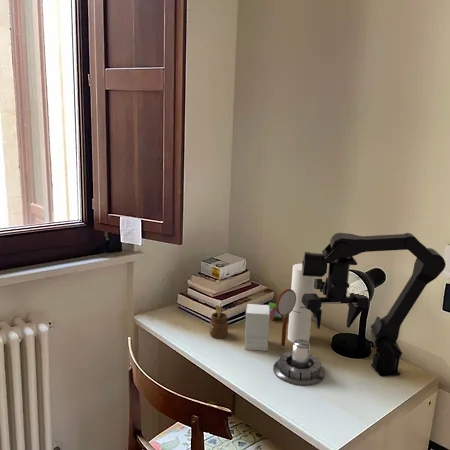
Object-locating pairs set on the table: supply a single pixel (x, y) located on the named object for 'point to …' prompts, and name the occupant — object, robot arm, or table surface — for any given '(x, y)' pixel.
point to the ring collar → (299, 371)
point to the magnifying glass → (285, 309)
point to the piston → (300, 354)
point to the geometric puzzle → (273, 310)
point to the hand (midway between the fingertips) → (333, 327)
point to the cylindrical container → (300, 306)
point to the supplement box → (257, 327)
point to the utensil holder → (218, 324)
